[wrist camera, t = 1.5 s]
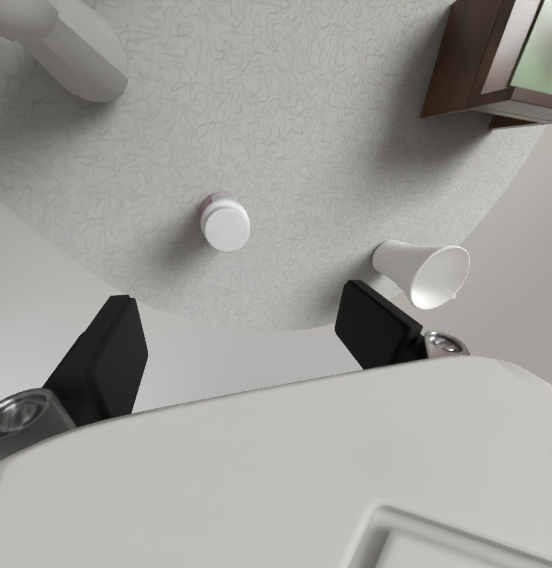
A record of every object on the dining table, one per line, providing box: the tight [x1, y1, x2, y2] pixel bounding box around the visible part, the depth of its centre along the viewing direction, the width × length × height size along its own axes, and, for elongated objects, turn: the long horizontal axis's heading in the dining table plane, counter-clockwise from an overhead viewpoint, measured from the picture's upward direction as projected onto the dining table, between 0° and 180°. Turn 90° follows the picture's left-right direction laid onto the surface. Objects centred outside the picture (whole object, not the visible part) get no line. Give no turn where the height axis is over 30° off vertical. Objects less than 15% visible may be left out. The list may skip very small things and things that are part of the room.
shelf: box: [420, 0, 552, 130], centre depth 24 cm, size 10×13×10 cm
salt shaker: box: [0, 0, 128, 102], centre depth 14 cm, size 6×6×13 cm
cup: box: [372, 239, 470, 310], centre depth 33 cm, size 9×9×10 cm
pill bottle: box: [200, 192, 250, 252], centre depth 24 cm, size 5×5×8 cm
